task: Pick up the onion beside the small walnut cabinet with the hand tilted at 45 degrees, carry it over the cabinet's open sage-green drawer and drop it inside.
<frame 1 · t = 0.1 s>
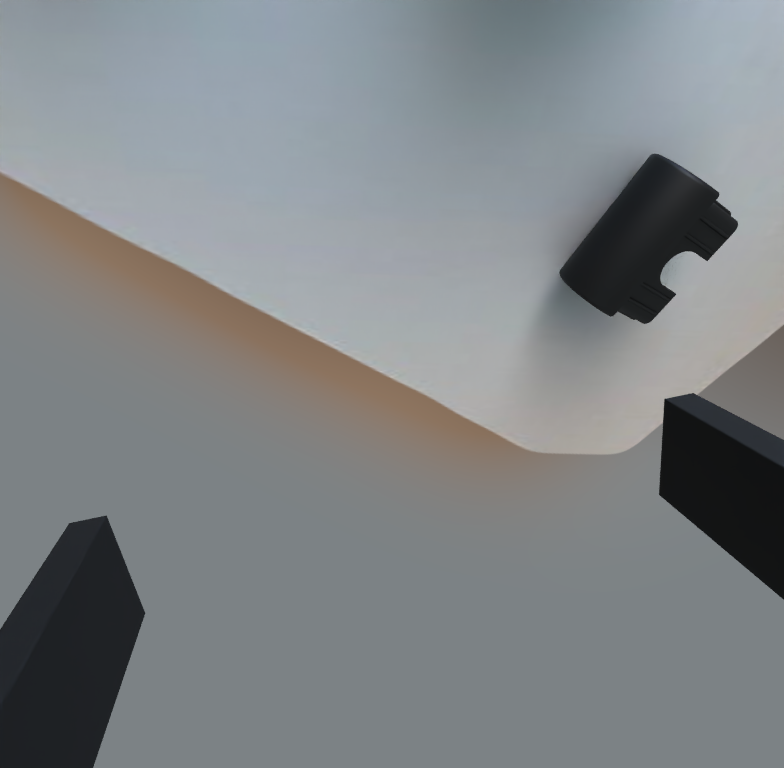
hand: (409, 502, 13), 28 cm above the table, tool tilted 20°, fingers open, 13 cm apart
end cap: (613, 222, 42), on the table
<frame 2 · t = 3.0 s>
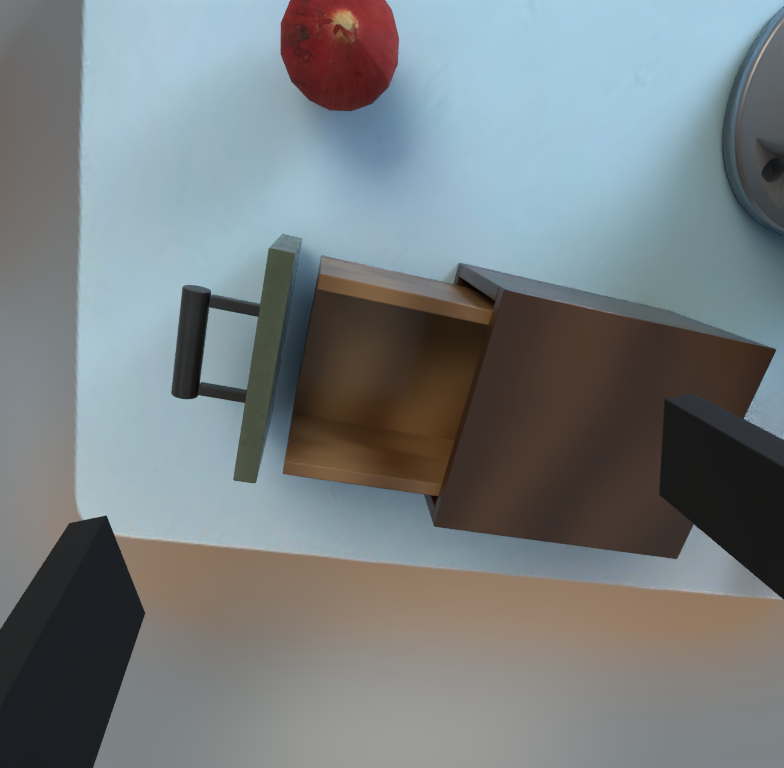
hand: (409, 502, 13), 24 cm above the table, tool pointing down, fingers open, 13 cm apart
cabinet: (537, 381, 38), on the table
onion: (338, 62, 30), on the table
drawer: (348, 366, 31), point 5 cm above the table, slide at 10.0 cm
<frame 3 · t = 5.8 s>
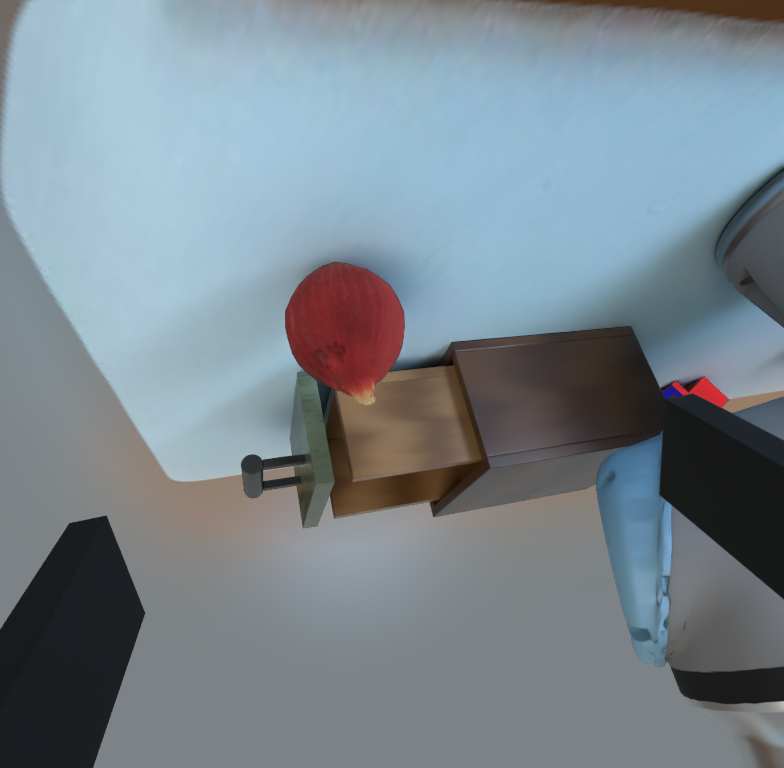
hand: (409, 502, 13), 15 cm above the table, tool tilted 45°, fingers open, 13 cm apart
cabinet: (510, 374, 47), on the table
onion: (332, 263, 28), on the table
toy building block: (683, 383, 61), on the table
drawer: (367, 448, 41), point 5 cm above the table, slide at 10.0 cm
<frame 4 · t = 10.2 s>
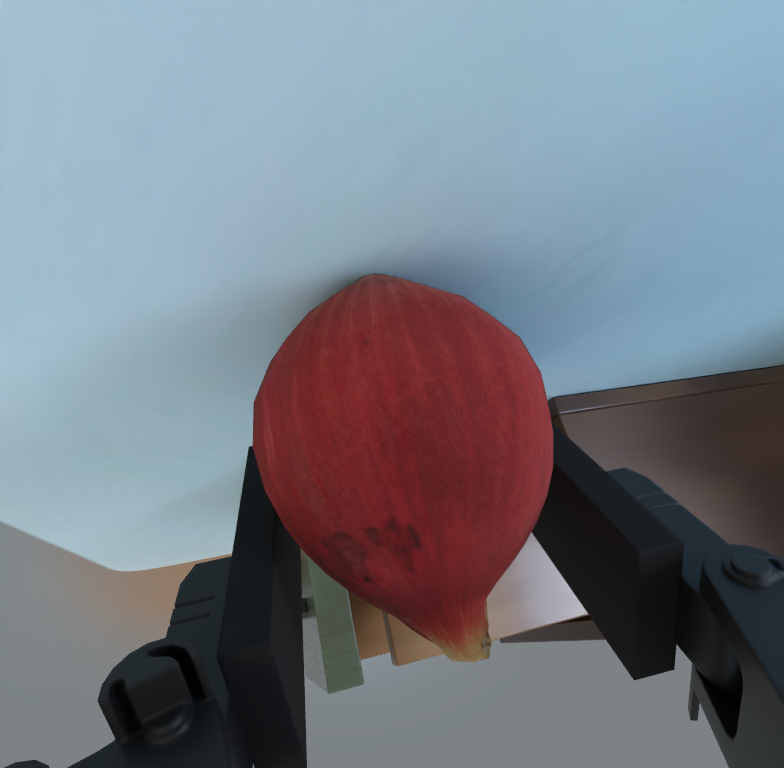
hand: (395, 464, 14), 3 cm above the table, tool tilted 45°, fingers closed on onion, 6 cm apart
cabinet: (616, 429, 31), on the table
onion: (366, 275, 12), on the table, touching gripper
drawer: (409, 563, 26), point 5 cm above the table, slide at 10.0 cm
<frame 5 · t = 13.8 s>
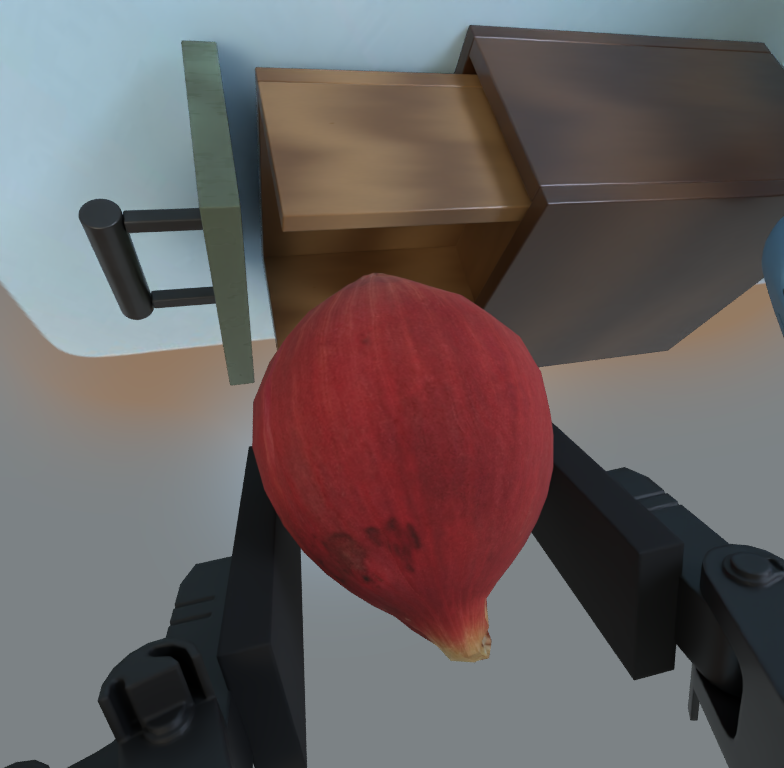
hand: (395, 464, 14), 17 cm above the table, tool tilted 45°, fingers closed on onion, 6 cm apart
cabinet: (558, 156, 30), on the table
onion: (365, 274, 12), point 14 cm above the table, touching gripper
drawer: (328, 236, 24), point 5 cm above the table, slide at 10.0 cm
when the fingers open (11 cm above the table, at t = 17.3 s): onion drops 6 cm, resting on drawer.
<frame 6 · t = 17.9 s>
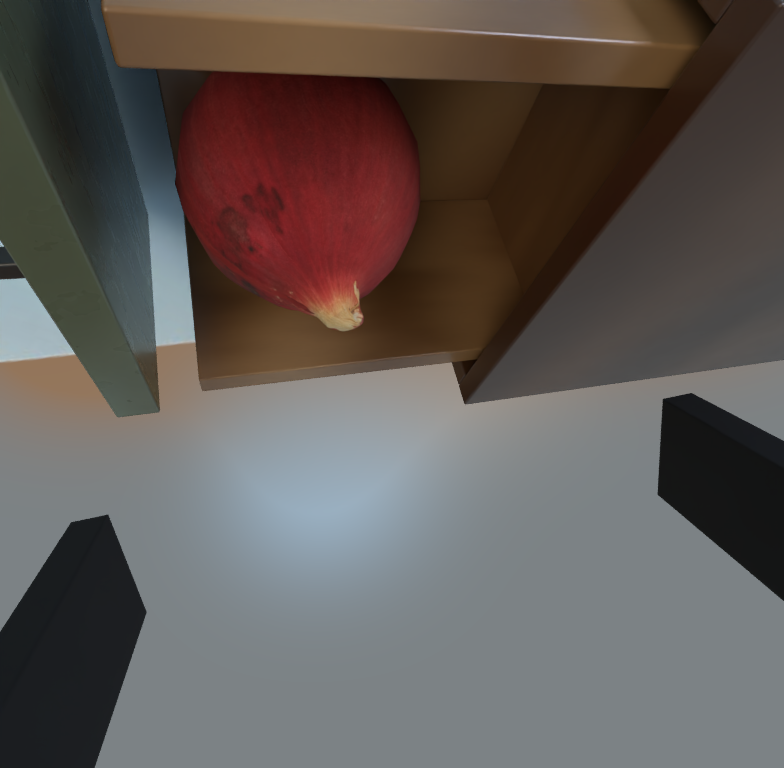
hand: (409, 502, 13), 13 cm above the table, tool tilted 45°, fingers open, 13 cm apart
cabinet: (651, 55, 19), on the table
onion: (281, 77, 15), point 2 cm above the table, touching drawer
drawer: (276, 153, 13), point 5 cm above the table, slide at 10.0 cm, touching onion
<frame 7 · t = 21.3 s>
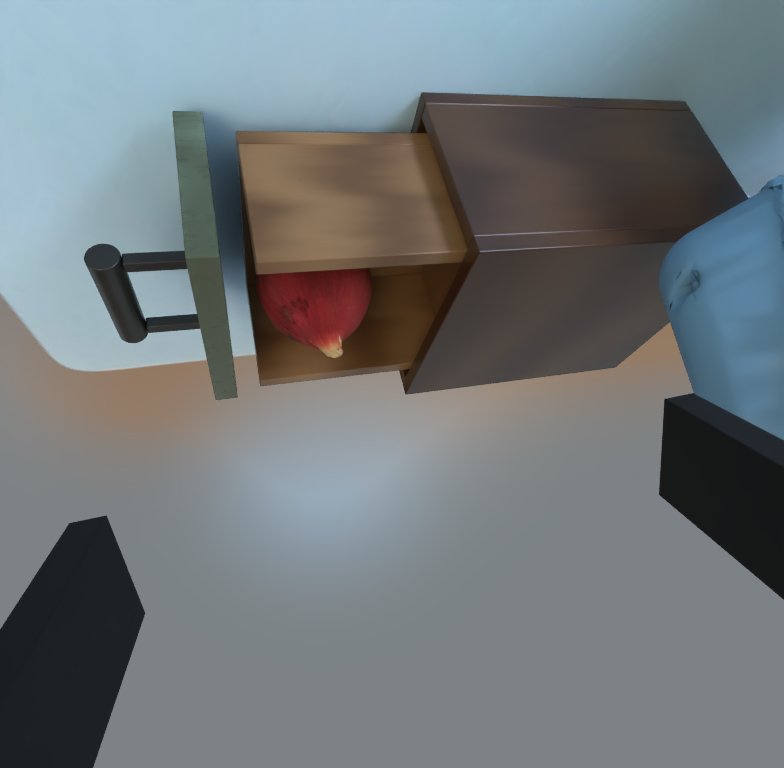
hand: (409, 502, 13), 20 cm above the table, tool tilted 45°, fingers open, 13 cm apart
cabinet: (511, 195, 34), on the table
onion: (303, 226, 29), point 2 cm above the table, touching drawer
drawer: (301, 270, 28), point 5 cm above the table, slide at 10.0 cm, touching onion
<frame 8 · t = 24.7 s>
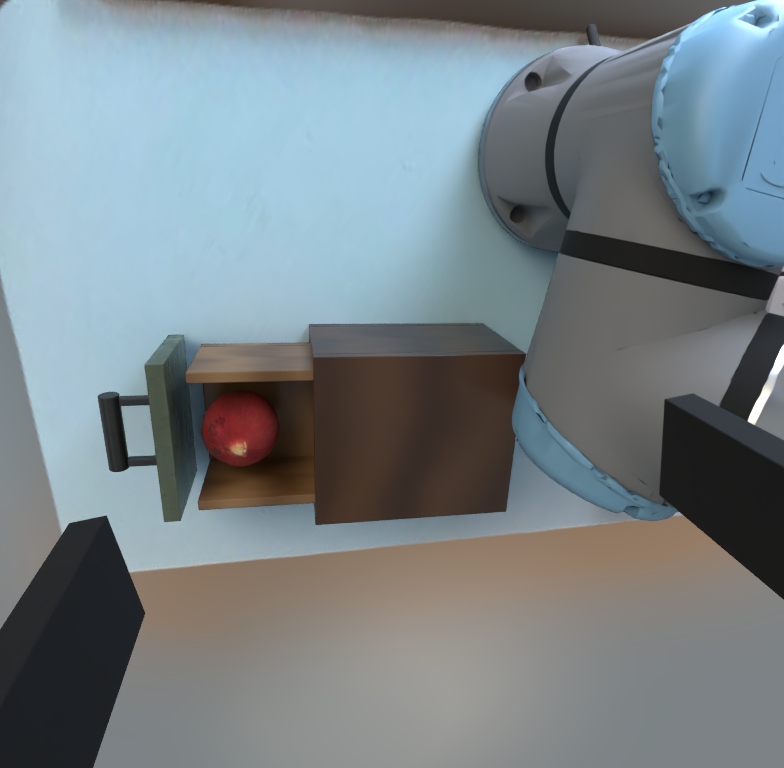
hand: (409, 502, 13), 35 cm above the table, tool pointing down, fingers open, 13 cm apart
cabinet: (395, 395, 50), on the table
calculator: (779, 299, 53), on the table
onion: (244, 408, 46), point 2 cm above the table, touching drawer
drawer: (234, 422, 43), point 5 cm above the table, slide at 10.0 cm, touching onion
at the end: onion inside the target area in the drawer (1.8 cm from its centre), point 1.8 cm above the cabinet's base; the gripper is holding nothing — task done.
